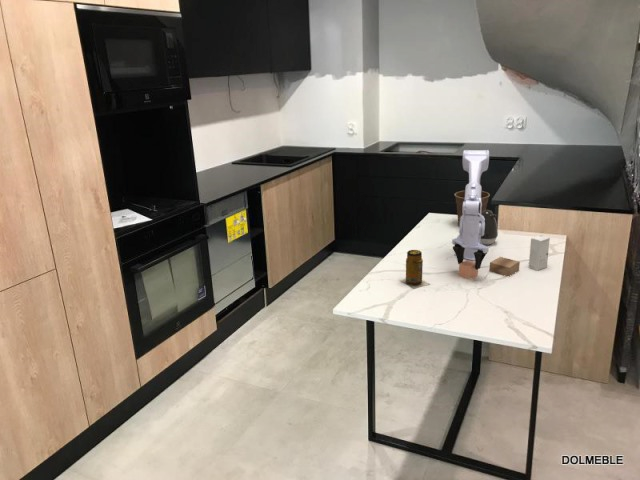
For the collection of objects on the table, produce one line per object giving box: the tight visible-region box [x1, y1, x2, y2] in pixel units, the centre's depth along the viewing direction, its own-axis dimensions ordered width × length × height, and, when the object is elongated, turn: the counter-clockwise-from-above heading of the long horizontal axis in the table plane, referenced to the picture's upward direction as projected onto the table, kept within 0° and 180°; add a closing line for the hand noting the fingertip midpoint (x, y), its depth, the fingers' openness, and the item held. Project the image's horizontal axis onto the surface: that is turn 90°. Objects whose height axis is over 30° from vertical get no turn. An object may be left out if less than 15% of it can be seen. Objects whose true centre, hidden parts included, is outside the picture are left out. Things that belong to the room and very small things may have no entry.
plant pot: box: [454, 190, 491, 227], centre depth 245 cm, size 16×16×16 cm
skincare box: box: [528, 235, 551, 271], centre depth 194 cm, size 6×4×12 cm
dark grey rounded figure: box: [480, 209, 499, 246], centre depth 222 cm, size 10×10×15 cm
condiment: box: [400, 249, 430, 289], centre depth 186 cm, size 7×8×12 cm
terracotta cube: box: [458, 259, 479, 280], centre depth 191 cm, size 5×5×5 cm
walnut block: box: [488, 256, 521, 277], centre depth 194 cm, size 8×8×4 cm
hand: (468, 266), depth 190 cm, fingers open, 7 cm apart
